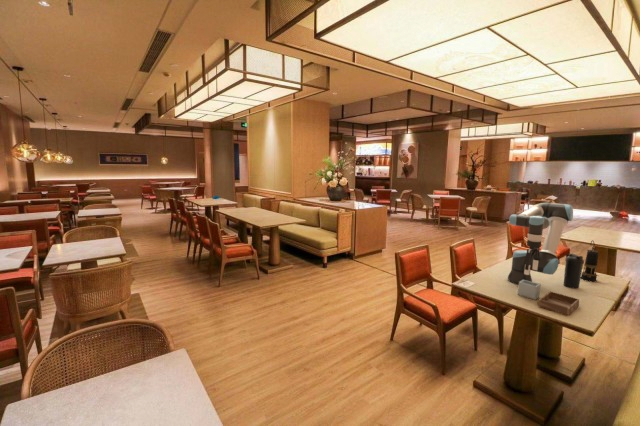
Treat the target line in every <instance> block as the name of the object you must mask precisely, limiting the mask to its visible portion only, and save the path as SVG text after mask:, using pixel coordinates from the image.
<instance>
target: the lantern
mask: <svg viewBox="0 0 640 426" xmlns="http://www.w3.org/2000/svg"><path fill="white" fill-rule="evenodd" d="M592 243H593V245H592ZM590 246H591V247H592V248H591V249H586V251H587V252H586V257H585V260H584V264H583V266H584V267H583V269H582V273H581V278H580V280H582V279H583V280H582V281H585V280H586V281H585V282H590V281H592V282H591V283H596V282H597V277H599V275H598V274H597V269H598V263H599V253H600V251H598V250H596V249H595V248H594V247H595V241H594V240H591V241H590ZM595 281H596V282H595Z"/></svg>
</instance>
